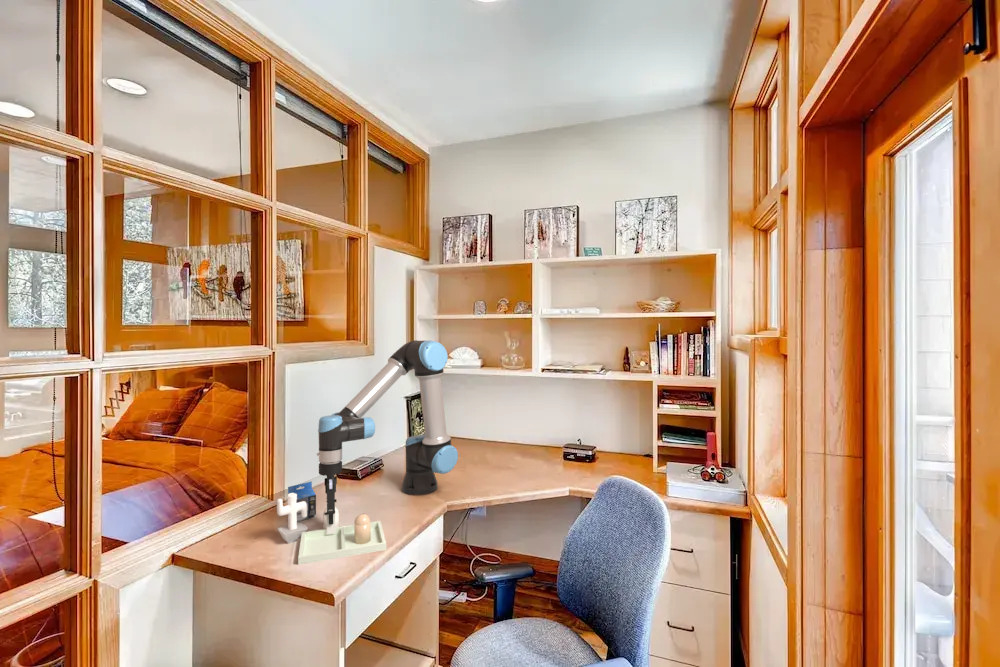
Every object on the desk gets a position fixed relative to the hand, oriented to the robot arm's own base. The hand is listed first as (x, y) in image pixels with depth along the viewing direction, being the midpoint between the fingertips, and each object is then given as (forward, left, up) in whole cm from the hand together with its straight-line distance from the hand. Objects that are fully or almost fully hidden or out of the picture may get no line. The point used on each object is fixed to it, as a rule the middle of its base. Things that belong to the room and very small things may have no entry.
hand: (330, 527), depth 157 cm
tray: (-4, +13, -2) cm, 13 cm away
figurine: (+12, +1, -2) cm, 12 cm away
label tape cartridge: (+10, -16, -2) cm, 19 cm away
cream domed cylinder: (0, -1, -2) cm, 2 cm away
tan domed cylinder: (-10, +13, -1) cm, 16 cm away
